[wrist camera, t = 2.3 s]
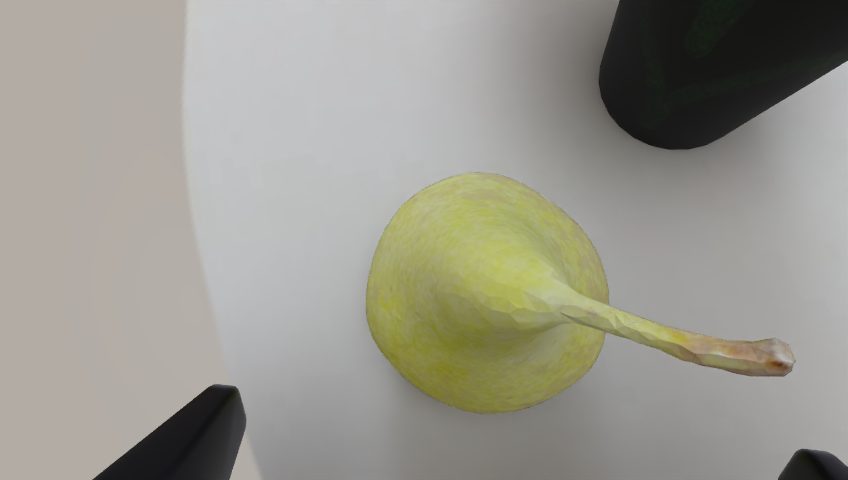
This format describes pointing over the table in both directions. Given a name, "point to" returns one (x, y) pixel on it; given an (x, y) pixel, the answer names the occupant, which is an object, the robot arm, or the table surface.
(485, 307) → the fruit
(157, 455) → the robot arm
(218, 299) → the table surface
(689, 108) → the cup
